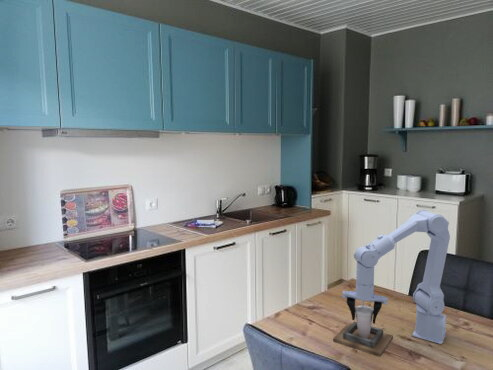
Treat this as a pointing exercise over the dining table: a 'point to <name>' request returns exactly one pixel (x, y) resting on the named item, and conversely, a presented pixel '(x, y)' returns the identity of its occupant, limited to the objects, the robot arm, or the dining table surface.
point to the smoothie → (364, 320)
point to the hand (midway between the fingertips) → (363, 320)
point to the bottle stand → (364, 339)
